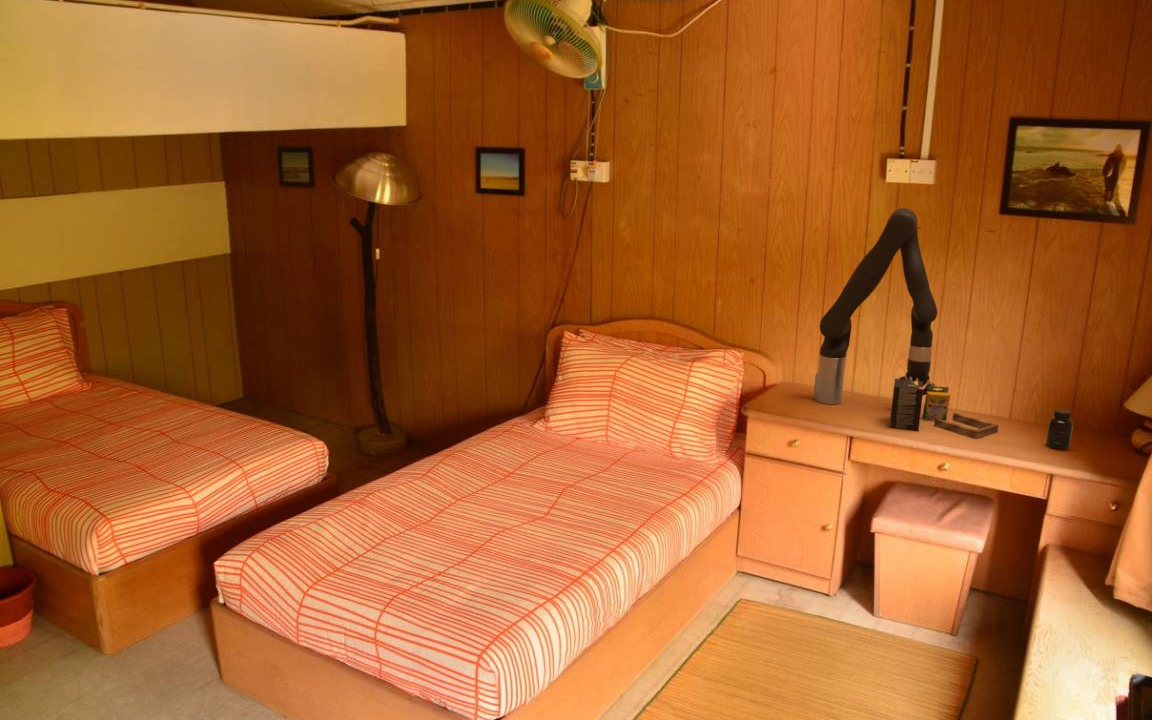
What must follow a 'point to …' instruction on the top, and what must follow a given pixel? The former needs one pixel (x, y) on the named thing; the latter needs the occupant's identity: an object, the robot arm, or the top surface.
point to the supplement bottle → (1060, 430)
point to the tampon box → (906, 404)
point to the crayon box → (936, 403)
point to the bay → (984, 431)
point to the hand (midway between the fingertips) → (914, 405)
